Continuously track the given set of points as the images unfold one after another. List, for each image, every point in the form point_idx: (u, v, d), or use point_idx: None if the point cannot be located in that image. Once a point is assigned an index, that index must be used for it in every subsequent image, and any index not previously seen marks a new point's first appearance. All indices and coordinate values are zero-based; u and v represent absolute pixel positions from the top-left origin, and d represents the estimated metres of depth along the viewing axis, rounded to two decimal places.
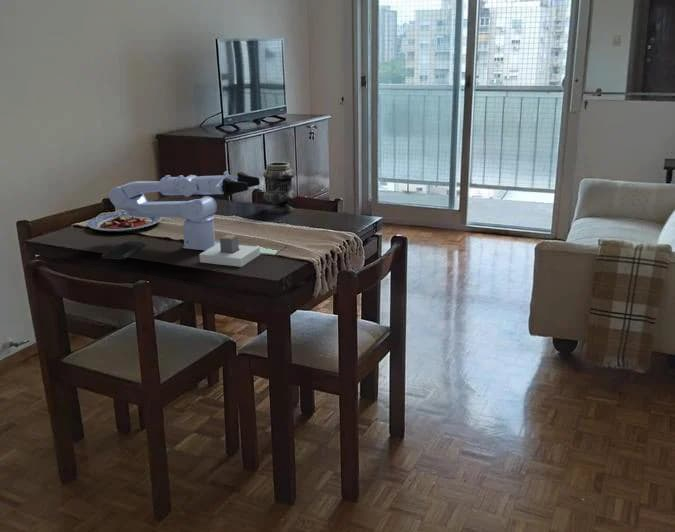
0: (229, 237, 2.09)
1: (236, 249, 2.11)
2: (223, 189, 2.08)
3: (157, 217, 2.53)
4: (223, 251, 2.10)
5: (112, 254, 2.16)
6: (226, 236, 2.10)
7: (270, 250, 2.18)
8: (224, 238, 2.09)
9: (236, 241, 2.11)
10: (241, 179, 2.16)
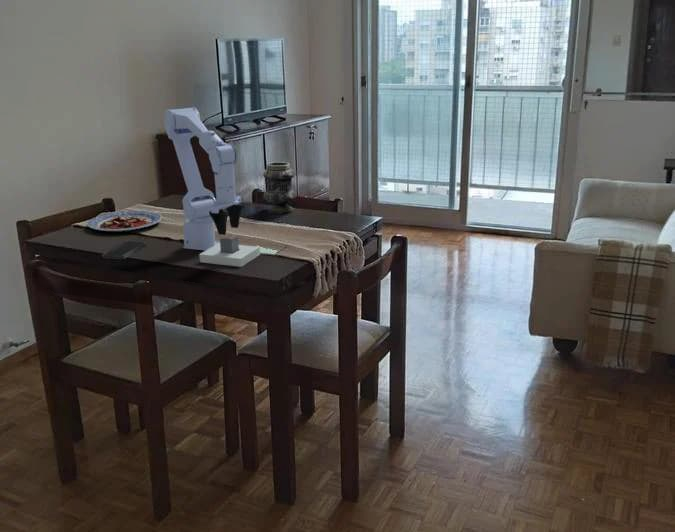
0: (229, 237, 2.09)
1: (236, 249, 2.11)
2: (215, 213, 2.02)
3: (157, 217, 2.53)
4: (223, 251, 2.10)
5: (112, 254, 2.16)
6: (226, 236, 2.10)
7: (270, 250, 2.18)
8: (224, 238, 2.09)
9: (236, 241, 2.11)
10: (235, 208, 2.10)
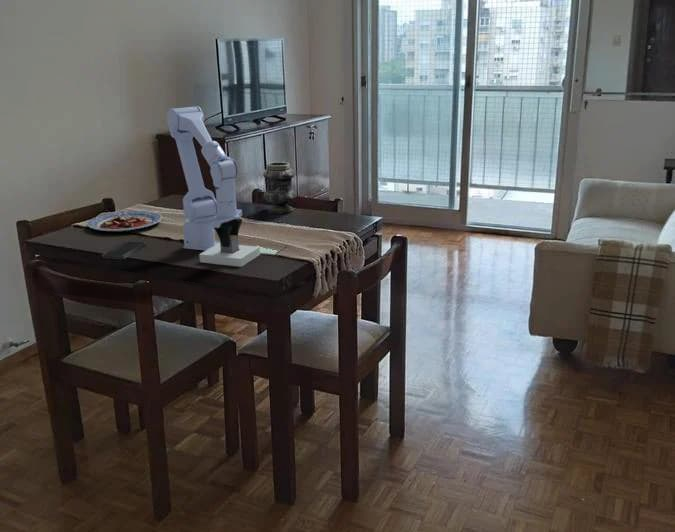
0: None
1: (236, 249, 2.11)
2: (219, 226, 2.05)
3: (157, 217, 2.53)
4: (223, 251, 2.10)
5: (112, 254, 2.16)
6: None
7: (270, 250, 2.18)
8: None
9: (236, 241, 2.11)
10: (233, 223, 2.11)
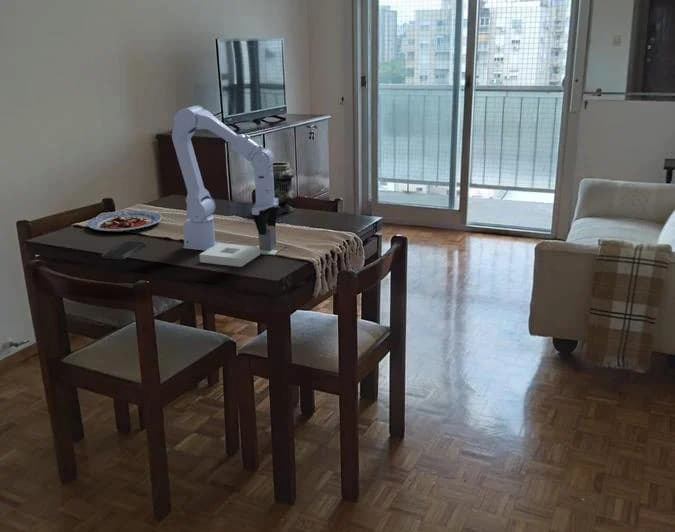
0: (267, 227, 2.17)
1: (274, 239, 2.19)
2: (256, 214, 2.11)
3: (157, 217, 2.53)
4: (261, 241, 2.18)
5: (112, 254, 2.16)
6: None
7: None
8: None
9: (274, 231, 2.18)
10: (272, 210, 2.19)
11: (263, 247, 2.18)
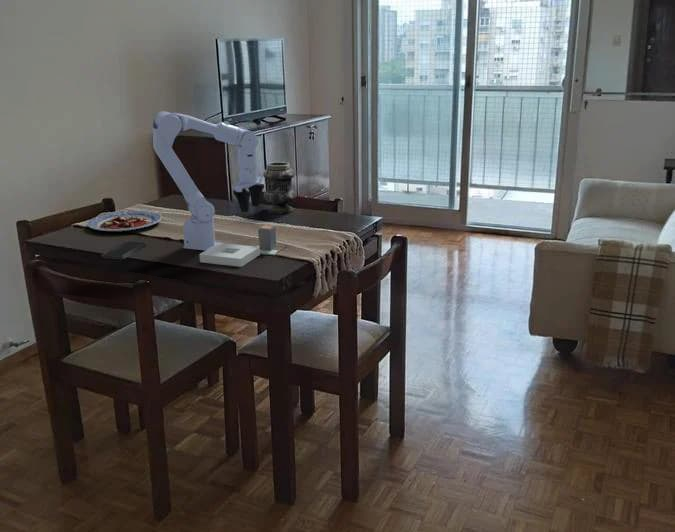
0: (267, 227, 2.17)
1: (274, 239, 2.19)
2: (239, 192, 2.20)
3: (157, 217, 2.53)
4: (261, 241, 2.18)
5: (112, 254, 2.16)
6: (264, 226, 2.18)
7: None
8: (262, 228, 2.17)
9: (274, 231, 2.18)
10: (256, 188, 2.29)
11: (263, 247, 2.18)
